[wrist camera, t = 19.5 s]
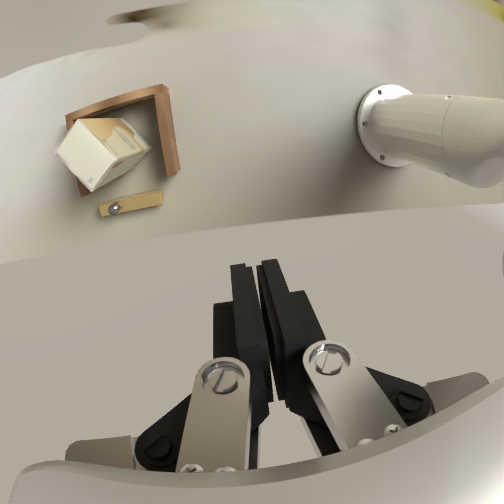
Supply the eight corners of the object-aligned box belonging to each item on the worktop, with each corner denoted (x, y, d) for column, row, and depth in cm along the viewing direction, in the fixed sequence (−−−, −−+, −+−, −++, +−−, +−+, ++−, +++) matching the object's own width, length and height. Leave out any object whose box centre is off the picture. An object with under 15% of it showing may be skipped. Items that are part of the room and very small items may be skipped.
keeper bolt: (161, 189, 34) (157, 194, 32) (163, 200, 35) (160, 206, 32) (102, 202, 34) (95, 208, 31) (105, 212, 34) (98, 219, 32)
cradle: (168, 87, 28) (161, 83, 25) (180, 169, 33) (175, 174, 30) (79, 114, 28) (65, 115, 24) (93, 188, 33) (81, 196, 29)
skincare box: (153, 147, 32) (121, 161, 21) (131, 170, 33) (93, 195, 22) (121, 115, 29) (77, 116, 18) (100, 139, 30) (52, 152, 19)
